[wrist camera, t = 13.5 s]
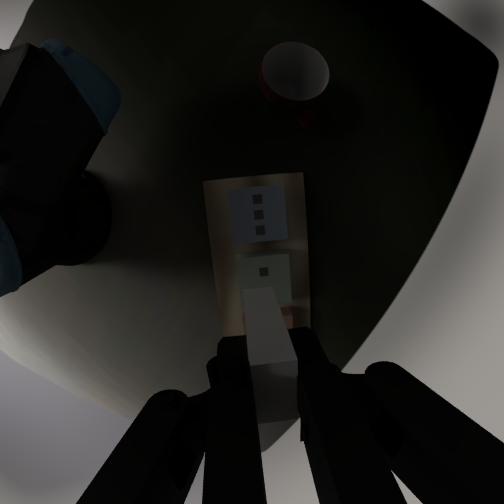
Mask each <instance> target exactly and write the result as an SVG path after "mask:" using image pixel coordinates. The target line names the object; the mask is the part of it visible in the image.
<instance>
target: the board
mask: <svg viewBox="0 0 504 504" xmlns="http://www.w3.org/2000/svg"><path fill="white" fill-rule="evenodd" d="M270 185H284V193H285V206H286V219H287V232H288V239H282V240H272V241H263V242H253V243H243V244H234V238H233V229H232V219H231V210H230V200H229V189H238V188H248V187H259V186H270ZM203 188H204V197H205V206H206V215H207V223H208V232H209V240H210V248H211V255H212V263H213V270H214V278H215V285H216V292H217V299H218V306H219V312H220V319H221V325H222V332H223V337H228V336H238V335H245V333H244V325H243V313H242V312H245V311H244V308H241V300H240V291H239V283H238V274H237V265H236V254H242V253H251V252H261V251H270V250H280V249H286V250H287V252H288V253H289V262H290V279H291V298H292V302H291V303H283V304H279V307H280V308H286V307H289V308H290V311H291V313H292V319H293V328H298V327H306V326H307V327H308V328H310V329H311V324H310V282H309V257H308V237H307V220H306V205H305V191H304V178H303V172H299V173H284V174H271V175H259V176H248V177H238V178H228V179H219V180H210V181H203Z"/></svg>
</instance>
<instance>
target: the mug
mask: <svg viewBox="0 0 504 504" xmlns="http://www.w3.org/2000/svg"><path fill="white" fill-rule="evenodd" d="M329 79H330V71H329V67H328V64H327V62H326V60H325V59H324V57H323V56H322V55H321V54H320V53H319V52H318V51H317V50H316V49H315V48H313V47H311V46H309V45H307V44H305V43H301V42H296V41H287V42H282V43H279V44H276V45H274V46H273V47H271V48H270V49H269V50H268V51H267V52H266V53H265V55H264V57H263V59H262V62H261V65H260V69H259V81H260V85H261V88H262V91H263V94H264V96H265V98H266V99H267V100H268V101H269V102H270V103H271V104H273V105H274V106H276V107H279V108H282V109H293V111H294V113H295V115H296V117H297V119H298V121H299V123H300V124H301V125H302V126H304V127H311V126H313V125H314V124H315V122H316V113H315V110H314V107H313V105H312V103H313V102H314V101H315V100H316V99H317V98H318V97H319V96H320V95H321V94H322V93H323V92H324V90H325V89H326V87H327V85H328V83H329Z"/></svg>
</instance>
